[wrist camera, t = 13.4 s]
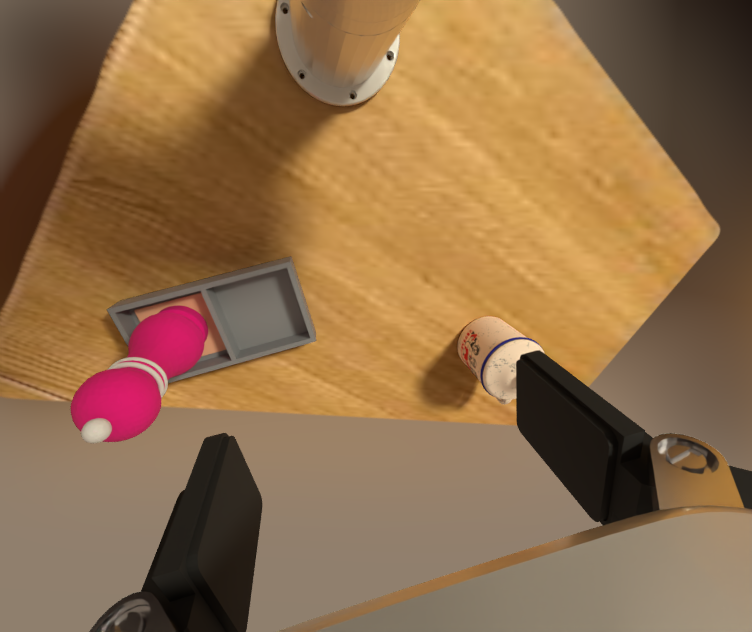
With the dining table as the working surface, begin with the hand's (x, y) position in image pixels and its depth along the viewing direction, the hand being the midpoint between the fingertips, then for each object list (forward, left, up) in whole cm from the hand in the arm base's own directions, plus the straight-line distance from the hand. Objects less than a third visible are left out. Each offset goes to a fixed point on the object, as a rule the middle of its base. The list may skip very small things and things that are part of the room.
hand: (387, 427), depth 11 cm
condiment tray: (+6, -15, -35) cm, 39 cm away
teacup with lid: (+22, +19, -36) cm, 46 cm away
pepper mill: (+5, -20, -35) cm, 40 cm away
